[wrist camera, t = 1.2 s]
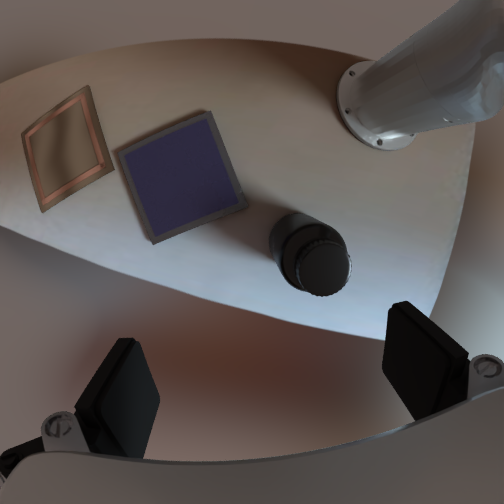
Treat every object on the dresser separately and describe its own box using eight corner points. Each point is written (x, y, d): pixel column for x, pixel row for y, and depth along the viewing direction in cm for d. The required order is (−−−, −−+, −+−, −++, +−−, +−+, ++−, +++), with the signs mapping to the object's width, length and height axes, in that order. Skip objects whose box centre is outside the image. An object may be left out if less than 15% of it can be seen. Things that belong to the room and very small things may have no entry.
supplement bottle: (256, 244, 35) (267, 275, 23) (293, 200, 34) (324, 210, 22) (297, 278, 36) (325, 321, 24) (333, 237, 35) (377, 263, 23)
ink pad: (211, 113, 31) (210, 109, 29) (247, 206, 33) (248, 207, 32) (121, 153, 31) (116, 152, 29) (155, 243, 34) (152, 245, 32)
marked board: (89, 85, 28) (87, 84, 28) (114, 169, 31) (112, 169, 31) (22, 134, 29) (20, 133, 28) (43, 212, 32) (41, 213, 31)
